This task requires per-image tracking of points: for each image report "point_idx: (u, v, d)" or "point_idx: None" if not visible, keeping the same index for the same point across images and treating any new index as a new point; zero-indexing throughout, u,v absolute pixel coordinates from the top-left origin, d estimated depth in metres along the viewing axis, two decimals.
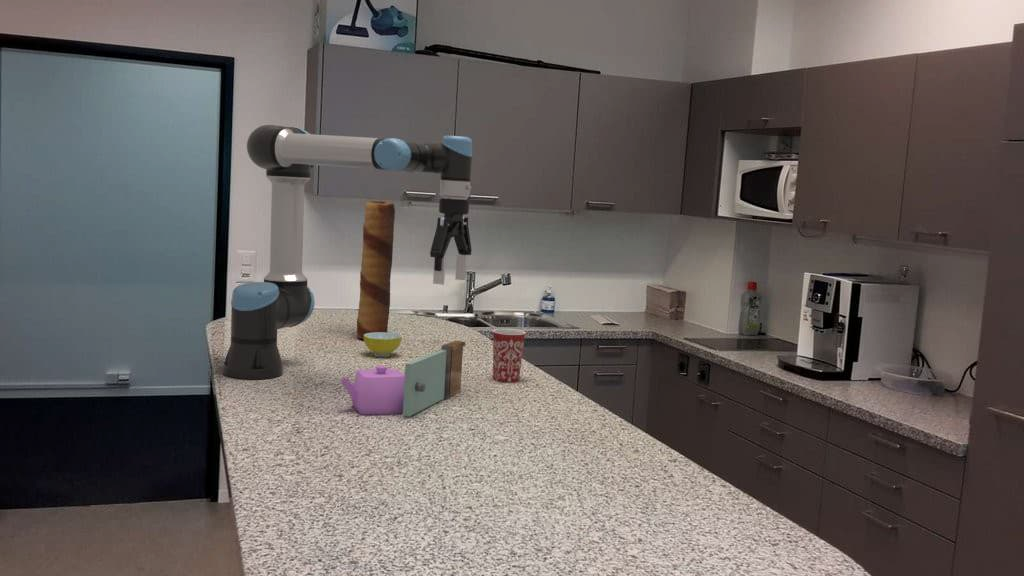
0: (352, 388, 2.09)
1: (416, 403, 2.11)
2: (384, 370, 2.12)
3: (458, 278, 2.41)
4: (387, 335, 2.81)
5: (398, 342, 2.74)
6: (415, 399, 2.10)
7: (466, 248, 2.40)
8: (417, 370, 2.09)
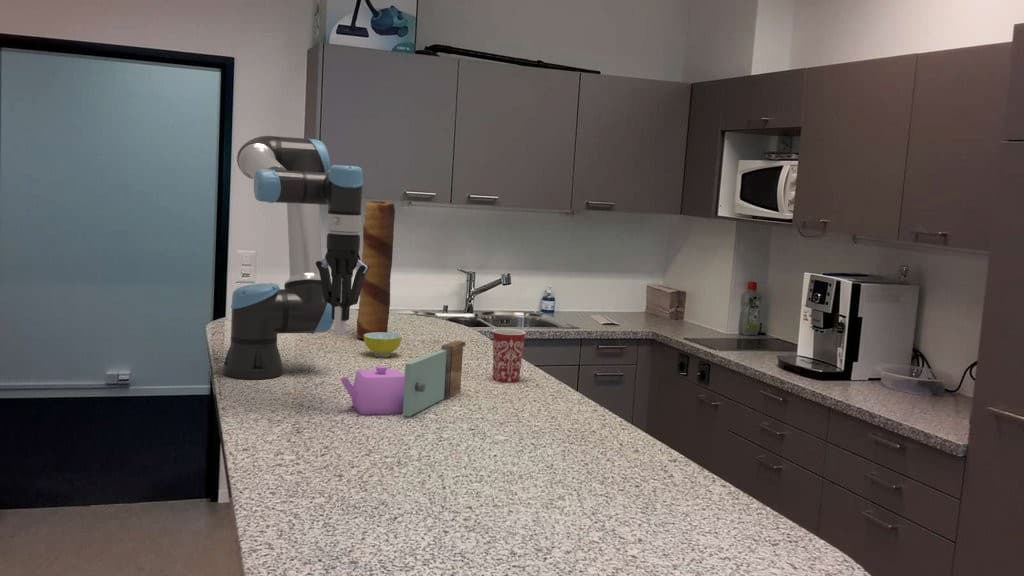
0: (352, 388, 2.09)
1: (416, 403, 2.11)
2: (384, 370, 2.12)
3: None
4: (387, 335, 2.81)
5: (398, 342, 2.74)
6: (415, 399, 2.10)
7: (343, 298, 2.13)
8: (417, 370, 2.09)
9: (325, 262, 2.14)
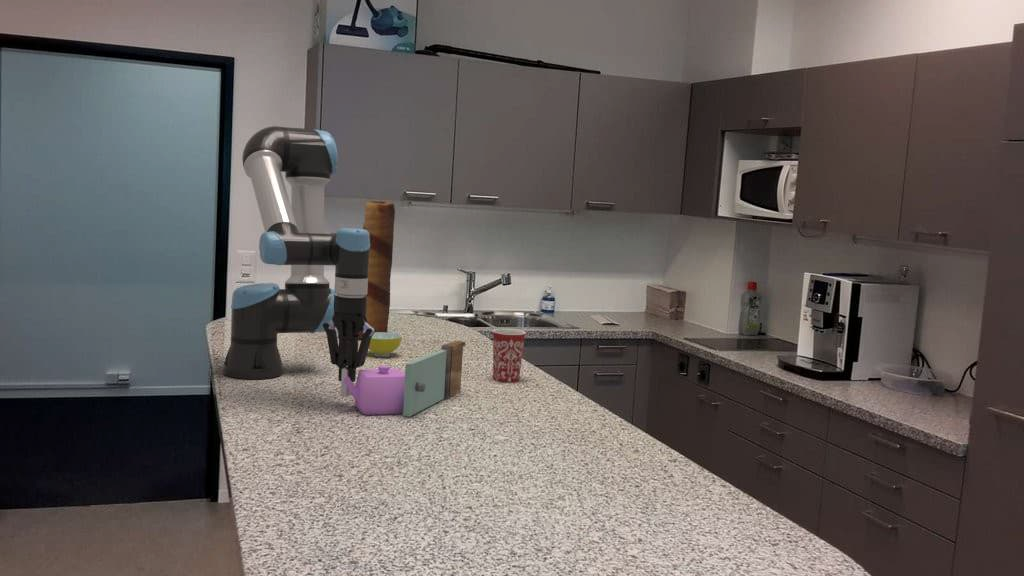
0: (354, 388, 2.09)
1: (416, 403, 2.11)
2: (386, 370, 2.11)
3: None
4: (387, 335, 2.81)
5: (398, 342, 2.74)
6: (415, 399, 2.10)
7: (349, 360, 2.13)
8: (417, 370, 2.09)
9: (332, 324, 2.15)
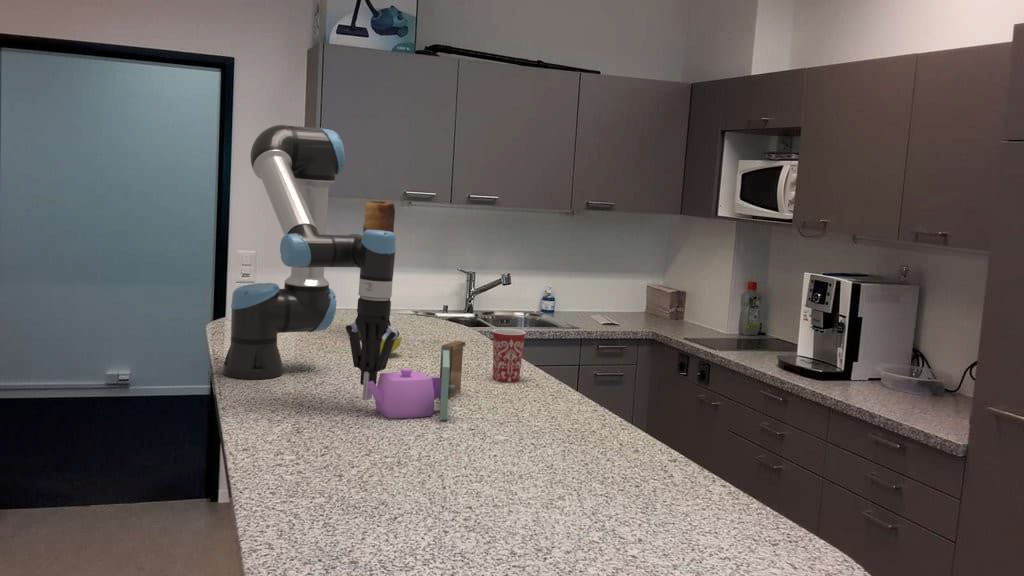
0: (378, 392, 2.07)
1: None
2: (409, 373, 2.10)
3: None
4: None
5: (398, 342, 2.74)
6: None
7: (371, 363, 2.11)
8: None
9: (355, 326, 2.13)
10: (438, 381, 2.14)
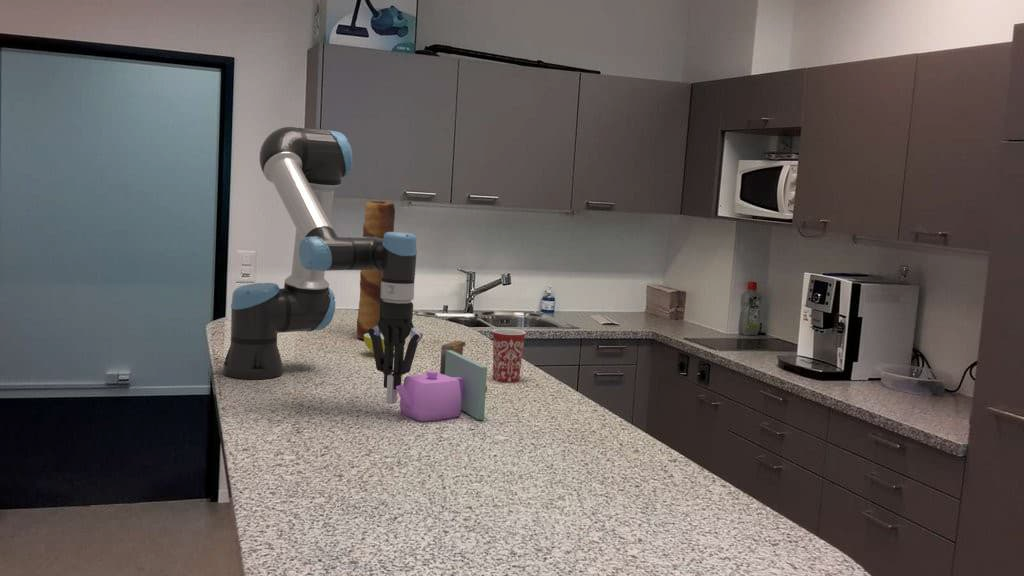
0: (408, 395, 2.05)
1: None
2: (436, 375, 2.10)
3: None
4: None
5: None
6: None
7: (395, 366, 2.10)
8: None
9: (377, 330, 2.11)
10: (461, 382, 2.15)
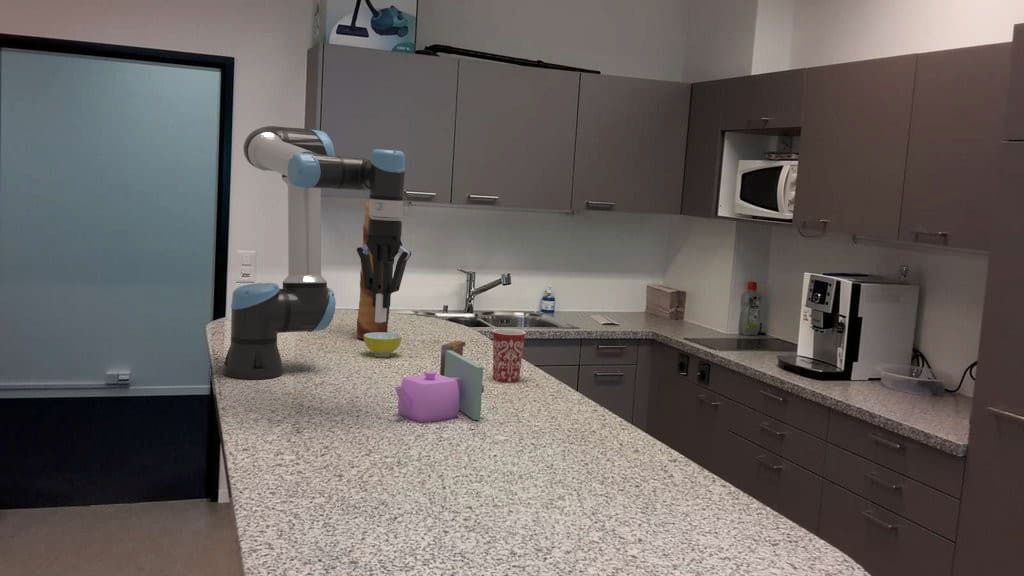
0: (407, 396, 2.05)
1: None
2: (434, 376, 2.09)
3: None
4: (387, 335, 2.81)
5: (398, 342, 2.74)
6: None
7: (384, 285, 2.09)
8: None
9: (366, 248, 2.11)
10: (459, 382, 2.14)
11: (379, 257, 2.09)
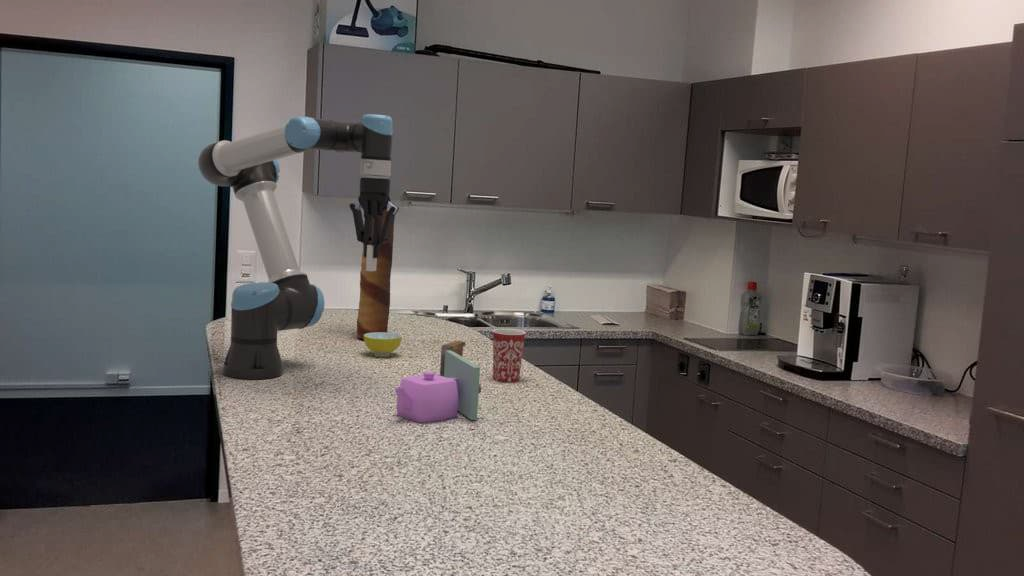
0: (407, 397, 2.04)
1: None
2: (433, 376, 2.09)
3: None
4: (387, 335, 2.81)
5: (398, 342, 2.74)
6: None
7: (374, 237, 2.32)
8: None
9: (358, 204, 2.34)
10: (457, 382, 2.14)
11: (370, 212, 2.32)
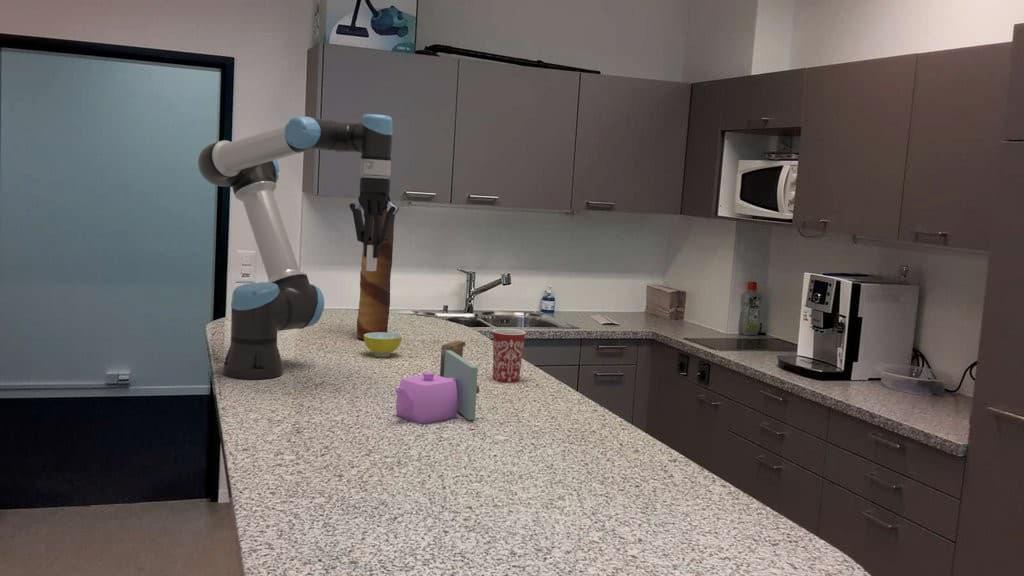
0: (408, 398, 2.03)
1: None
2: (433, 376, 2.08)
3: None
4: (387, 335, 2.81)
5: (398, 342, 2.74)
6: None
7: (374, 236, 2.32)
8: None
9: (358, 204, 2.34)
10: (455, 382, 2.14)
11: (370, 212, 2.32)
